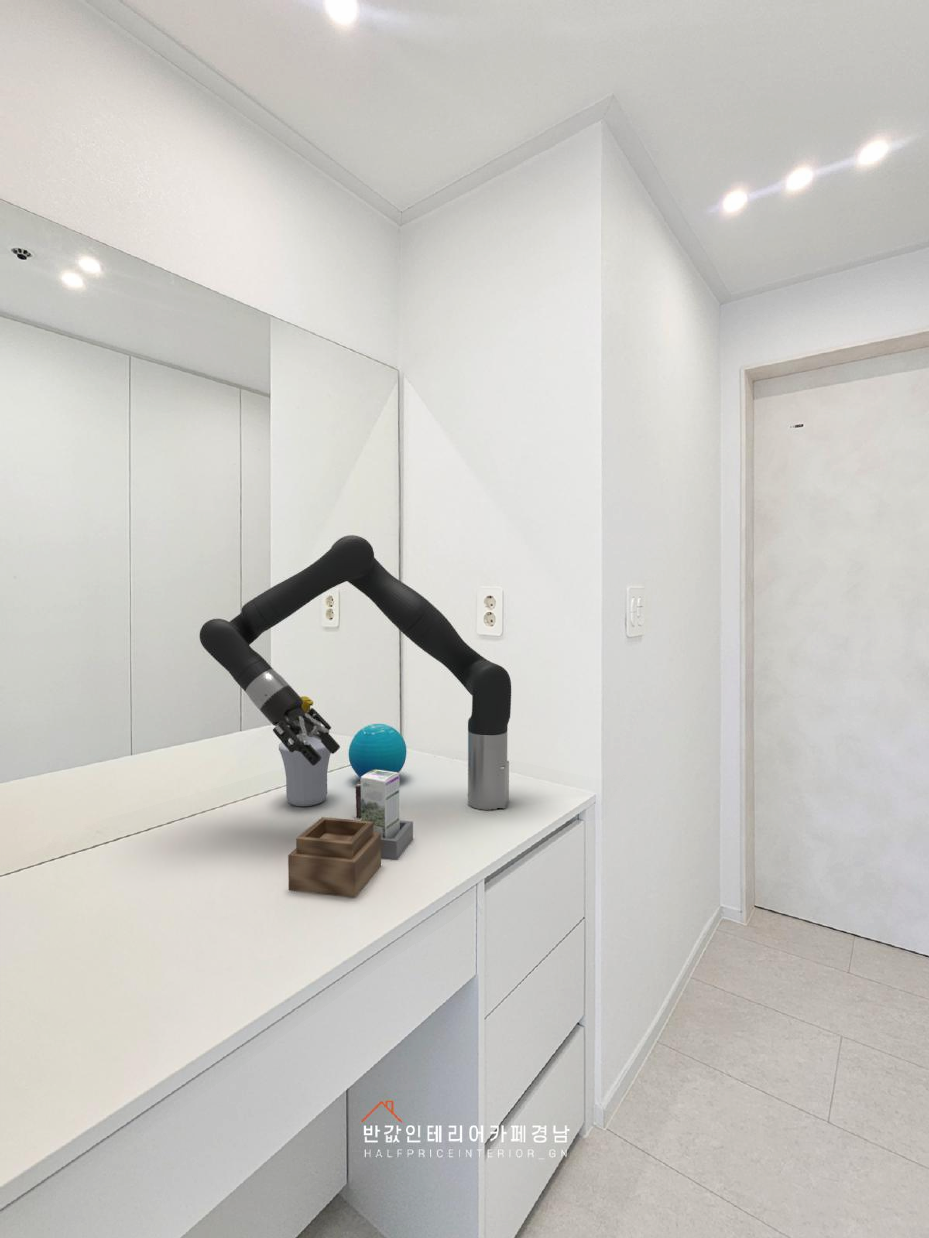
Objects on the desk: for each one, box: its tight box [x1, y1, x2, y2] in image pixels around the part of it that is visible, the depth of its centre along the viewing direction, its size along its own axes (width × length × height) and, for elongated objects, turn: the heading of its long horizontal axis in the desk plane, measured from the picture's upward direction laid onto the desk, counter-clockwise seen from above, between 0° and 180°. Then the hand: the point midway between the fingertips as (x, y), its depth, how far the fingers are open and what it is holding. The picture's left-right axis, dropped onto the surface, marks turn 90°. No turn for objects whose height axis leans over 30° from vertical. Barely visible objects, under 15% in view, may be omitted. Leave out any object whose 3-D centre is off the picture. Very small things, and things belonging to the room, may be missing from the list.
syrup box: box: [360, 769, 401, 839], centre depth 123 cm, size 6×6×14 cm
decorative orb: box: [348, 723, 408, 778], centre depth 163 cm, size 15×15×15 cm
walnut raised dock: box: [287, 816, 382, 899], centre depth 110 cm, size 12×12×8 cm
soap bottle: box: [278, 696, 332, 807], centre depth 148 cm, size 13×13×25 cm
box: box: [355, 779, 361, 819], centre depth 140 cm, size 6×6×7 cm
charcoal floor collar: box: [381, 819, 414, 860], centre depth 123 cm, size 10×10×4 cm
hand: (327, 756), depth 125 cm, fingers open, 8 cm apart
